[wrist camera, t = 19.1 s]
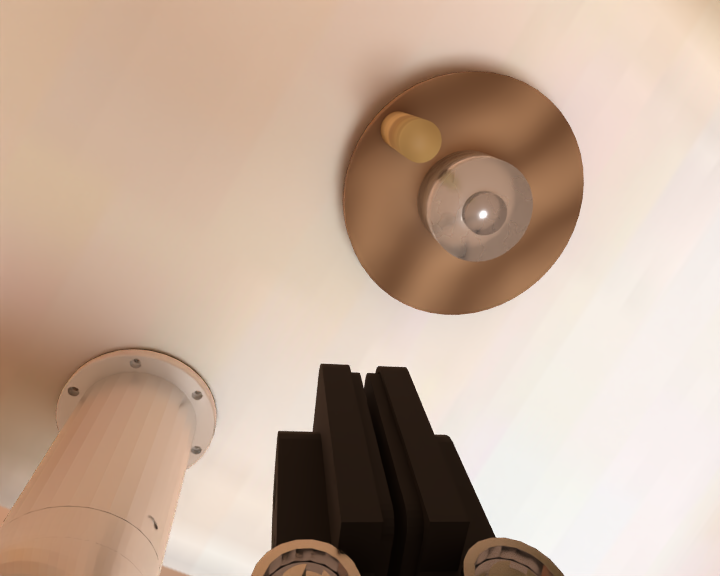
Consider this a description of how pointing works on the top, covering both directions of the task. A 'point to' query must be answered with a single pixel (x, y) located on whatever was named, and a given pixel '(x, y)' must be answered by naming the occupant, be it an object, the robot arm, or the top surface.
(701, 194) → the top surface
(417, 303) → the turntable
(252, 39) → the top surface
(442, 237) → the cover
